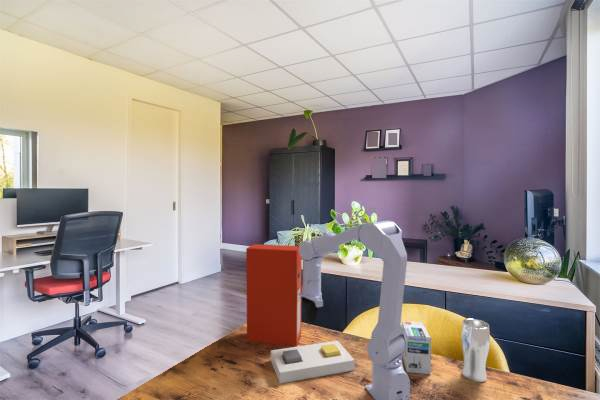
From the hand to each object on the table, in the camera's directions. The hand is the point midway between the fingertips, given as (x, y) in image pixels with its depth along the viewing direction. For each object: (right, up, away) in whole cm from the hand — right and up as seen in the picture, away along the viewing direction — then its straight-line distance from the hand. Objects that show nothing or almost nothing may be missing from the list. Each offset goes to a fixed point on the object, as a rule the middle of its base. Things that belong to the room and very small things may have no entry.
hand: (311, 321), depth 100 cm
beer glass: (+45, -11, -11) cm, 48 cm away
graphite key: (-6, -10, -8) cm, 14 cm away
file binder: (-12, -10, +10) cm, 19 cm away
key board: (0, -11, -6) cm, 12 cm away
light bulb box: (+31, -11, -5) cm, 33 cm away
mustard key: (+6, -10, -4) cm, 12 cm away
